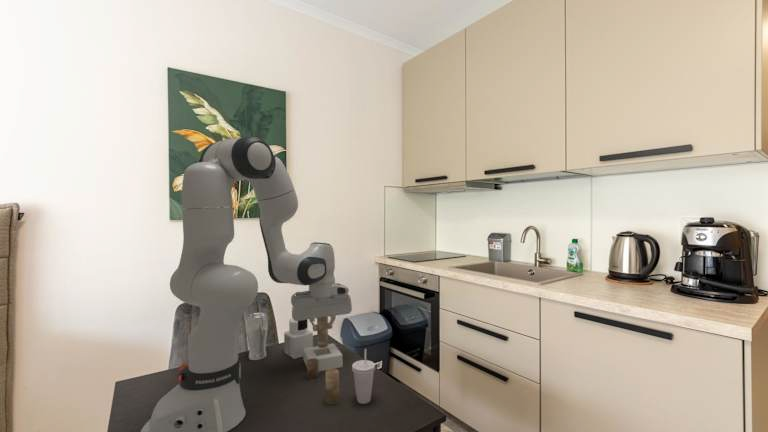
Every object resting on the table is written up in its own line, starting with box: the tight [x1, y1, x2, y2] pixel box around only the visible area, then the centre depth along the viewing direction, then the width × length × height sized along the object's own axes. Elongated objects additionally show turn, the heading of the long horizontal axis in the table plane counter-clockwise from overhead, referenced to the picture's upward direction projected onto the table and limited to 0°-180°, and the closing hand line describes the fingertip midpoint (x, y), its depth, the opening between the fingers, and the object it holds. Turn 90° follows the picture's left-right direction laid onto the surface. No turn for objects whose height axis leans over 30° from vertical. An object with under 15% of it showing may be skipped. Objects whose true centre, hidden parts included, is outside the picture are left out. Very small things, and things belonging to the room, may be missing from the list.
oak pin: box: [325, 368, 340, 406], centre depth 91 cm, size 4×4×8 cm
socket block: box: [302, 343, 344, 373], centre depth 114 cm, size 11×11×4 cm
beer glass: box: [246, 312, 269, 361], centre depth 120 cm, size 7×7×15 cm
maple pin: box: [316, 317, 329, 348], centre depth 114 cm, size 4×4×12 cm
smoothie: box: [351, 348, 376, 405], centre depth 92 cm, size 6×6×14 cm
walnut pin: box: [306, 358, 320, 380], centre depth 105 cm, size 4×4×5 cm
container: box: [283, 317, 314, 360], centre depth 123 cm, size 8×8×13 cm
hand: (322, 329), depth 114 cm, fingers closed on maple pin, 4 cm apart
